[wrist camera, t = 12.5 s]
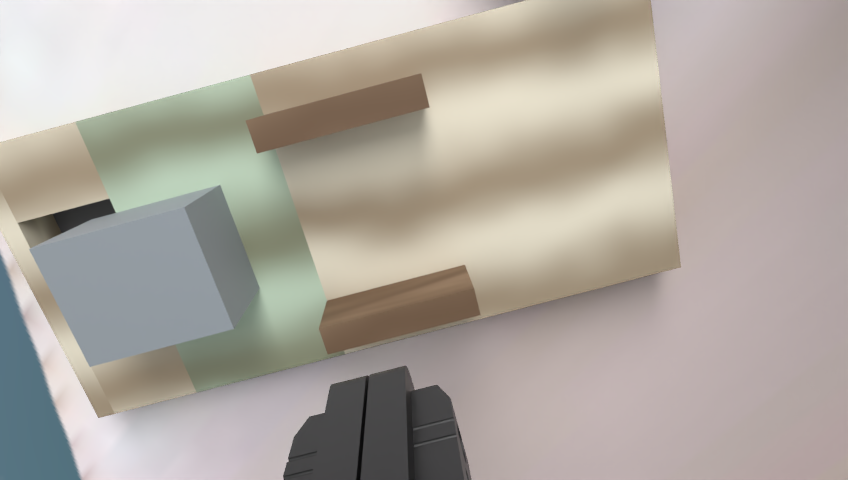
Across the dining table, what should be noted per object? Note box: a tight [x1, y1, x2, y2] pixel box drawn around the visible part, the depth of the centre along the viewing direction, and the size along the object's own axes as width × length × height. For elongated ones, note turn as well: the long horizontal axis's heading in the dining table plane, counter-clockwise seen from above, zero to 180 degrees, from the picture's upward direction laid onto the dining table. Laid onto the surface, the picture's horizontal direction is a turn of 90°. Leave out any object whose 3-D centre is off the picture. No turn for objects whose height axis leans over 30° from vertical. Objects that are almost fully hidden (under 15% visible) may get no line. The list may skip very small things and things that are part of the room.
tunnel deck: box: [0, 0, 681, 418], centre depth 28 cm, size 16×35×6 cm, turn 104°
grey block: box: [29, 185, 260, 367], centre depth 26 cm, size 6×7×5 cm
